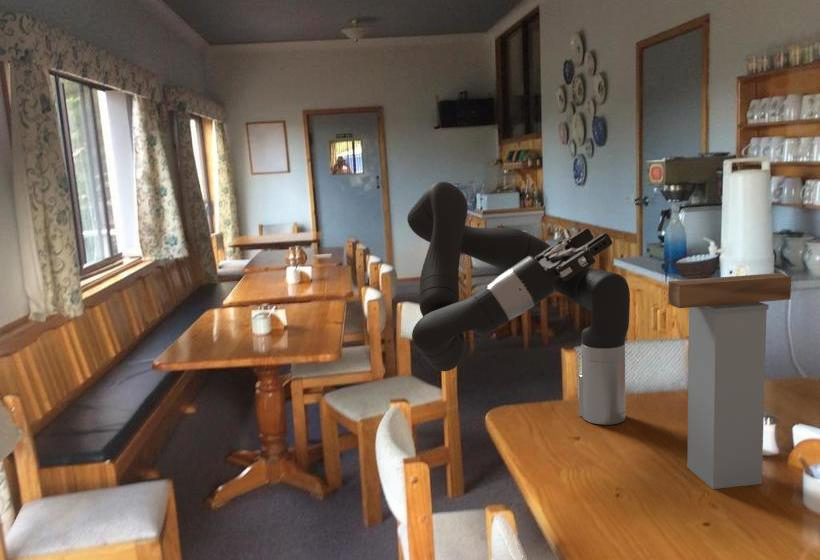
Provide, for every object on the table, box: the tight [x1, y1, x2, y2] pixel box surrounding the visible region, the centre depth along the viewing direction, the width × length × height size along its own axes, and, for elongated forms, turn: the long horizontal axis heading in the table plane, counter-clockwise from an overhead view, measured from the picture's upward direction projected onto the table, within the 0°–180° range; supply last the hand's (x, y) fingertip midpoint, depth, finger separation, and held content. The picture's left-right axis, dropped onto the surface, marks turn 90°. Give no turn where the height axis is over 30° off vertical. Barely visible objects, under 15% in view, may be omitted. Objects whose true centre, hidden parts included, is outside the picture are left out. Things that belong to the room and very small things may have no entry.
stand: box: [686, 302, 769, 490], centre depth 127 cm, size 9×9×32 cm
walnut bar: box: [667, 272, 792, 309], centre depth 124 cm, size 4×20×4 cm, turn 96°
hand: (599, 235), depth 121 cm, fingers open, 8 cm apart
